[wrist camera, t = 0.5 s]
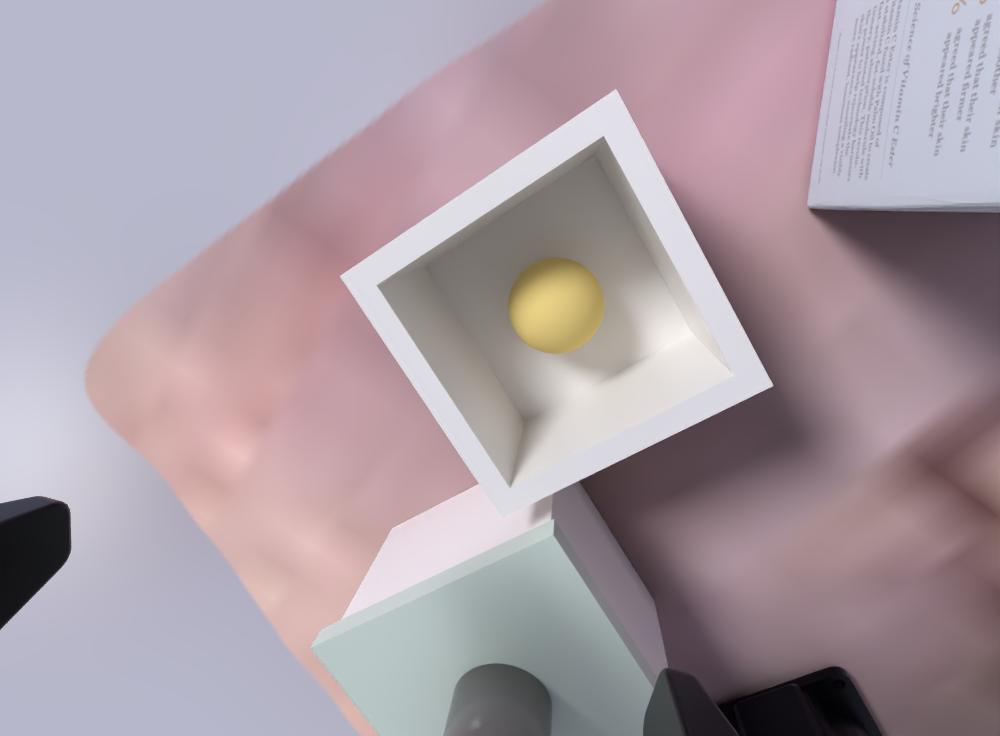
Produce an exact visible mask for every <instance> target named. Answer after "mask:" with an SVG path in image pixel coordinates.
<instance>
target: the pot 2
mask: <svg viewBox="0 0 1000 736" xmlns="http://www.w3.org/2000/svg"><path fill="white" fill-rule="evenodd" d="M553 519H555V521H556V522H557V524H558V525H559V527H560V528H561V530H562V532H563V533H564V535H565V536H566V538H567V539H568V541H569V542H570V544H571V545H572V547H573V548H574V550H575V552H576V553H577V555H578V556H579V558H580V559H581V561H582V562H583V564H584V565H585V567H586V569H587V570H588V572H589V573H590V575H591V576H592V578H593V579H594V581H595V582H596V584H597V585H598V587H599V589H600V590H601V592H602V593H603V595H604V596H605V598H606V599H607V601H608V602H609V604H610V606H611V607H612V609H613V610H614V612H615V613H616V615H617V616H618V618H619V619H620V621H621V622H622V624H623V626H624V627H625V629H626V630H627V632H628V633H629V635H630V636H631V638H632V639H633V641H634V643H635V644H636V646H637V647H638V649H639V650H640V652H641V653H642V655H643V656H644V658H645V659H646V661H647V663H648V664H649V666H650V667H651V669H652V670H653V672H654V673H655V675H656V676H657V678H658V676H659V674H660V672H661V671H662V669H665V668H668V663H667V658H666V654H665V649H664V644H663V639H662V635H661V630H660V625H659V621H658V616H657V611H656V606H655V602H654V599H653V598H652V596H651V595H650V593H649V591H648V590H647V588H646V587H645V585H644V583H643V582H642V580H641V579H640V577H639V576H638V574H637V572H636V571H635V569H634V568H633V566H632V564H631V563H630V561H629V560H628V558H627V556H626V555H625V553H624V552H623V550H622V548H621V547H620V545H619V544H618V542H617V541H616V539H615V537H614V536H613V534H612V533H611V531H610V529H609V528H608V526H607V525H606V523H605V521H604V520H603V518H602V517H601V515H600V513H599V512H598V510H597V509H596V507H595V506H594V504H593V502H592V501H591V499H590V498H589V496H588V494H587V493H586V491H585V490H584V488H583V486H582V485H581V483H580V482H579V481H577V482H575V483H573V484H571V485H569V486H567V487H565V488H563V489H561V490H559V491H557V492H555V493H553V494H551V495H549V496H547V497H545V498H543V499H540V500H538V501H536V502H534V503H532V504H530V505H528V506H526V507H524V508H522V509H520V510H518V511H516V512H514V513H512V514H510V515H508V516H506V517H504V518H502V517H501V516H500V514H499V513H498V511H497V510H496V508H495V507H494V505H493V504H492V502H491V501H490V499H489V498H488V496H487V495H486V493H485V492H484V490H483V489H482V487H481V486H480V484H477V485H475V486H473V487H472V488H470V489H468V490H466V491H464V492H462V493H460V494H458V495H456V496H454V497H452V498H450V499H448V500H446V501H444V502H442V503H440V504H438V505H436V506H434V507H433V508H431V509H429V510H427V511H425V512H423V513H421V514H419V515H417V516H415V517H413V518H411V519H409V520H407V521H405V522H403V523H401V524H399V525H397V526H395V527H393V528H392V530H391V531H390V533H389V535H388V537H387V539H386V540H385V542H384V544H383V546H382V548H381V549H380V551H379V553H378V555H377V557H376V558H375V560H374V562H373V564H372V566H371V567H370V569H369V571H368V573H367V575H366V576H365V578H364V580H363V582H362V584H361V585H360V587H359V589H358V591H357V592H356V594H355V596H354V598H353V600H352V601H351V603H350V605H349V607H348V609H347V610H346V612H345V614H344V616H343V618H342V619H344V618H346V617H348V616H350V615H352V614H354V613H356V612H358V611H361V610H363V609H365V608H367V607H369V606H371V605H373V604H375V603H377V602H380V601H382V600H384V599H386V598H388V597H390V596H392V595H394V594H396V593H398V592H401V591H403V590H405V589H407V588H409V587H411V586H413V585H415V584H417V583H420V582H422V581H424V580H426V579H428V578H430V577H432V576H434V575H436V574H439V573H441V572H443V571H445V570H447V569H449V568H451V567H453V566H455V565H458V564H460V563H462V562H464V561H466V560H468V559H470V558H472V557H474V556H477V555H479V554H481V553H483V552H485V551H487V550H489V549H491V548H493V547H496V546H498V545H500V544H502V543H504V542H506V541H508V540H510V539H512V538H515V537H517V536H519V535H521V534H523V533H525V532H527V531H529V530H531V529H534V528H536V527H538V526H540V525H542V524H544V523H546V522H548V521H550V520H553ZM342 619H341V620H342Z"/></svg>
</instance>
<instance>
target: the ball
mask: <svg viewBox="0 0 1000 736" xmlns="http://www.w3.org/2000/svg"><path fill="white" fill-rule="evenodd" d="M508 311H509V317H510V321H511V324H512V326H513V328H514V330H515V332H516V333H517V334H518V336H519V337H520V338H521V339H522V340H523V341H524V342H525V343H526V344H527V345H529V346H530V347H532V348H534V349H536V350H538V351H541V352H545V353H550V354H561V353H567V352H570V351H573V350H575V349H578V348H579V347H581V346H583V345H584V344H585V343H587V342H588V341H589V340H590V339H591V338H592V337H593V336H594V334H595V333H596V331H597V330H598V328H599V326H600V324H601V321H602V318H603V314H604V297H603V292H602V289H601V286H600V284H599V282H598V281H597V279H596V278H595V276H594V275H593V274H592V273H591V272H590V271H589V270H588V269H587V268H586V267H584V266H583V265H581V264H580V263H578V262H576V261H573V260H570V259H566V258H548V259H543V260H541V261H538V262H536V263H534V264H532V265H530V266H529V267H528V268H526V269H525V270H524V271H523V272H522V273H521V274H520V275H519V276H518V278H517V279H516V281H515V282H514V284H513V286H512V289H511V292H510V295H509V301H508Z"/></svg>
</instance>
